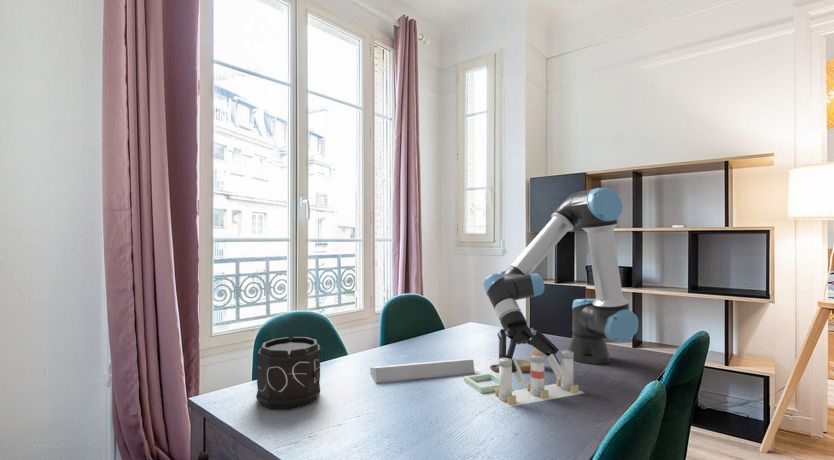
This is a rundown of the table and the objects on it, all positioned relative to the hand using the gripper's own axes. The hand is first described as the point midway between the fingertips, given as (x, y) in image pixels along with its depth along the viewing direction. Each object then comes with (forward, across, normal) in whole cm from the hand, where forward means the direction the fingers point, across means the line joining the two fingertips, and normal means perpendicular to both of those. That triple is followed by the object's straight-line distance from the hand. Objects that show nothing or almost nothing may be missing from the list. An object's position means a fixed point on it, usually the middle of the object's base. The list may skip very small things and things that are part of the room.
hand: (541, 379), depth 114 cm
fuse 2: (+2, -11, -5) cm, 12 cm away
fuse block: (+3, 0, -6) cm, 7 cm away
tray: (-5, +10, -14) cm, 18 cm away
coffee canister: (-15, +66, -24) cm, 72 cm away
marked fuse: (+2, 0, -5) cm, 5 cm away
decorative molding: (-20, +22, -30) cm, 42 cm away
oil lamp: (-12, -9, -21) cm, 26 cm away
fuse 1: (+2, +11, -5) cm, 12 cm away
